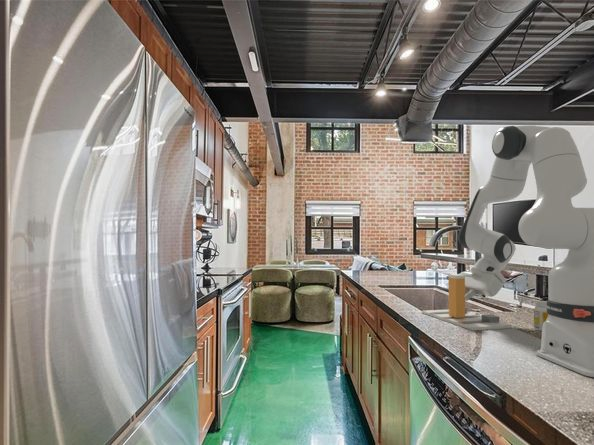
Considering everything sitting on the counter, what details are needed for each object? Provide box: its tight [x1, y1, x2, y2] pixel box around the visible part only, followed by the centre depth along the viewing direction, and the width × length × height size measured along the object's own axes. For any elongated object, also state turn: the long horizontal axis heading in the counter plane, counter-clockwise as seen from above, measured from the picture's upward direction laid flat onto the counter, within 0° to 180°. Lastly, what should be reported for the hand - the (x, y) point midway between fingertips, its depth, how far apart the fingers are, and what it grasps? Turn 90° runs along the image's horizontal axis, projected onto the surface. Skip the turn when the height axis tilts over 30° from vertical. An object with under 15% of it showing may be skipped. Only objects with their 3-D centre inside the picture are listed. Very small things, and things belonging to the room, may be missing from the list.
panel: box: [421, 307, 512, 331], centre depth 134 cm, size 28×16×3 cm, turn 15°
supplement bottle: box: [533, 300, 548, 332], centre depth 120 cm, size 5×5×10 cm
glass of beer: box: [447, 273, 466, 318], centre depth 133 cm, size 4×4×16 cm
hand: (462, 299), depth 134 cm, fingers closed, pressing on glass of beer
